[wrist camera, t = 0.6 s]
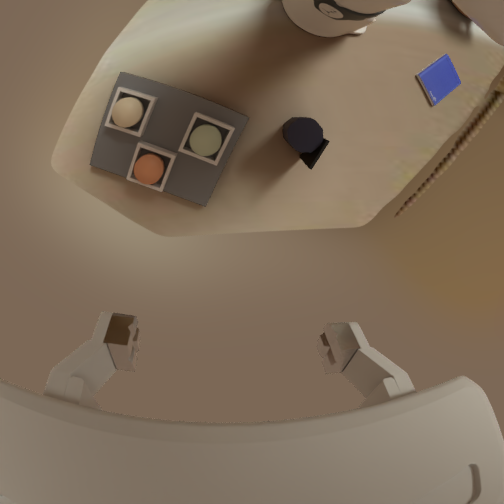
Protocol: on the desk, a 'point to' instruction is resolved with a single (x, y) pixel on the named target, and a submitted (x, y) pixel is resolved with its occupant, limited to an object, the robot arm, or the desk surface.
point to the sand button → (127, 112)
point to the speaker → (305, 138)
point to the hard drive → (439, 79)
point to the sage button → (205, 140)
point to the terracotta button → (149, 168)
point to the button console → (167, 137)
